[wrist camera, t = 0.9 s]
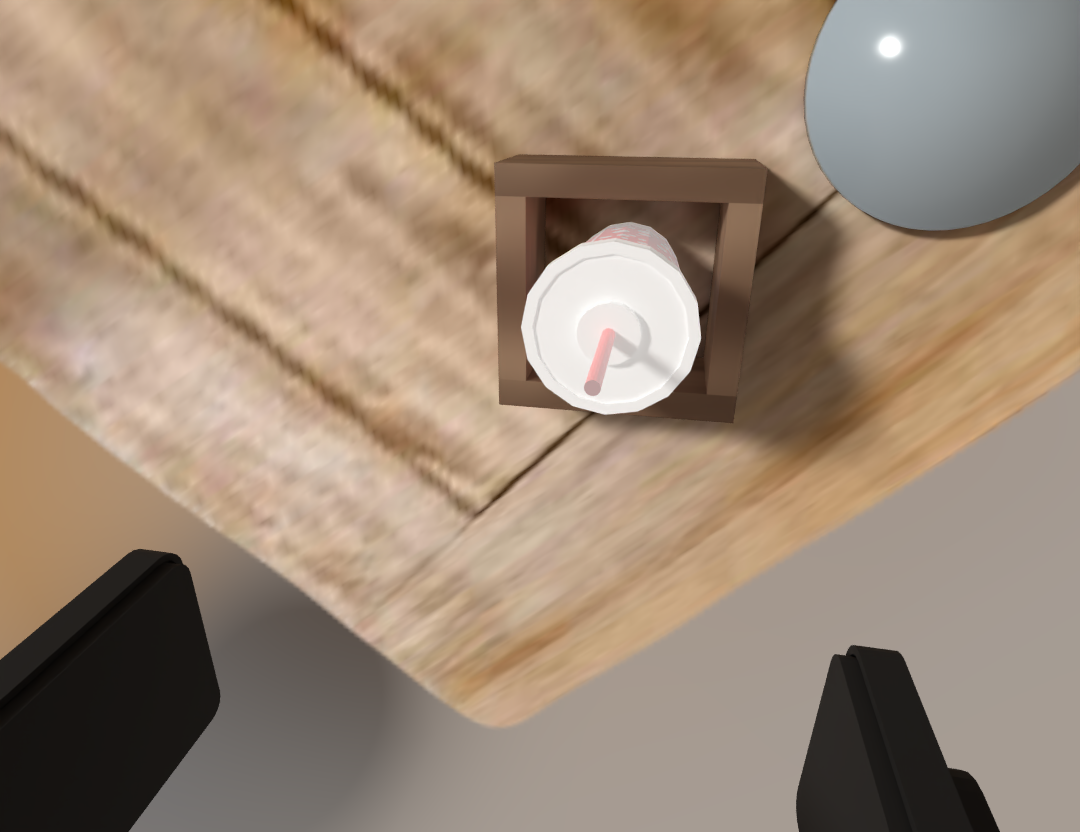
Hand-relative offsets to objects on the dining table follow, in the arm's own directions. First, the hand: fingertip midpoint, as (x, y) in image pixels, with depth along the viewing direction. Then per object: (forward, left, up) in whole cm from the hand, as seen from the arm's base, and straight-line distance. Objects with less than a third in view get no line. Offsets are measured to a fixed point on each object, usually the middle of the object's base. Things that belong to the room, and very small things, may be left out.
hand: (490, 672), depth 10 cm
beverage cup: (0, 0, -24) cm, 24 cm away
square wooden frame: (0, 0, -24) cm, 24 cm away
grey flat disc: (-8, +12, -24) cm, 28 cm away
